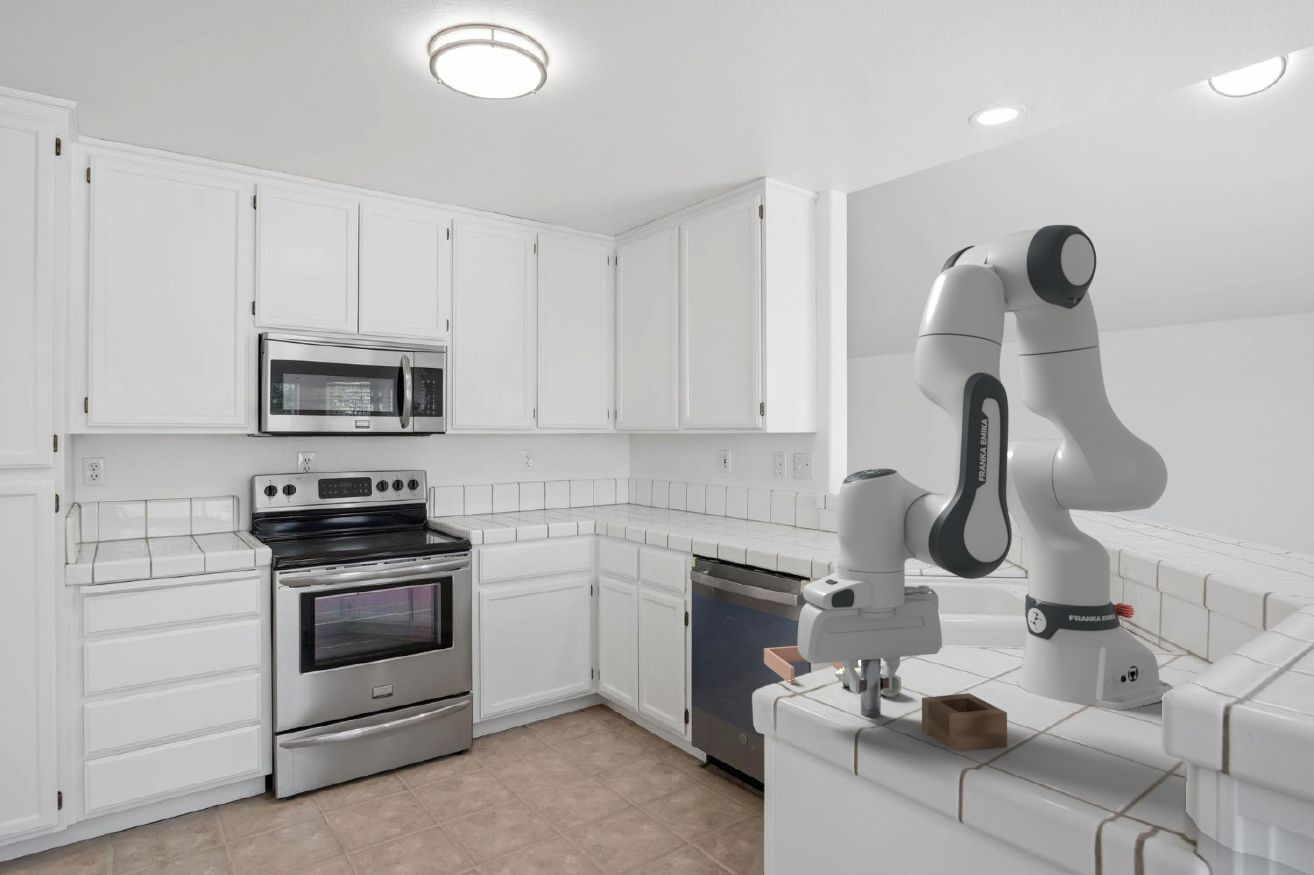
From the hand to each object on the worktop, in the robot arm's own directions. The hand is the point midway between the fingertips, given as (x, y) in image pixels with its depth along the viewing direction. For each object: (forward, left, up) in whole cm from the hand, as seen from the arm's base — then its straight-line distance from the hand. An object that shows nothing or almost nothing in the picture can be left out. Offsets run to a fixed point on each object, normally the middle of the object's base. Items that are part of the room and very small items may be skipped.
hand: (870, 690), depth 98 cm
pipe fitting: (-1, -9, -2) cm, 10 cm away
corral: (-1, -20, -4) cm, 20 cm away
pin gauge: (0, 0, -4) cm, 4 cm away
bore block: (-7, +10, -4) cm, 13 cm away
